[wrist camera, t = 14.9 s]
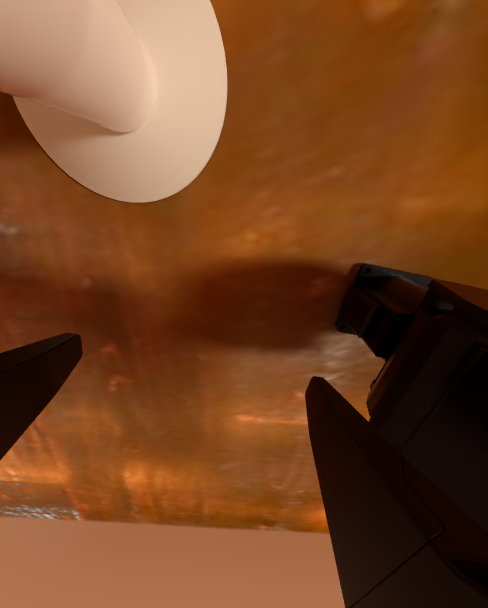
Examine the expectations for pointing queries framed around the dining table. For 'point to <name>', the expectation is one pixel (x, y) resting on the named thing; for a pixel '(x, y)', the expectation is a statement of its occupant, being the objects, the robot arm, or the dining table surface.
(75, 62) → the drinking glass
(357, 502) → the robot arm
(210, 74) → the cream flat disc
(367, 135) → the dining table surface
